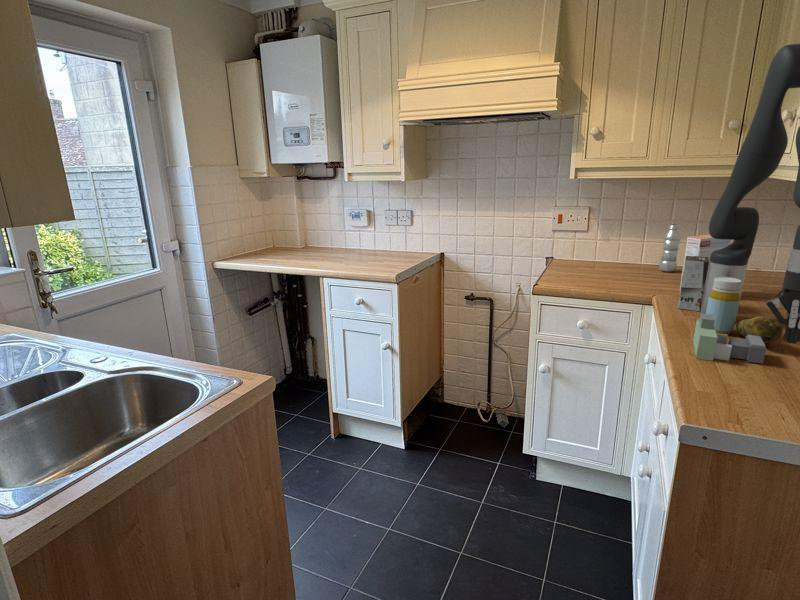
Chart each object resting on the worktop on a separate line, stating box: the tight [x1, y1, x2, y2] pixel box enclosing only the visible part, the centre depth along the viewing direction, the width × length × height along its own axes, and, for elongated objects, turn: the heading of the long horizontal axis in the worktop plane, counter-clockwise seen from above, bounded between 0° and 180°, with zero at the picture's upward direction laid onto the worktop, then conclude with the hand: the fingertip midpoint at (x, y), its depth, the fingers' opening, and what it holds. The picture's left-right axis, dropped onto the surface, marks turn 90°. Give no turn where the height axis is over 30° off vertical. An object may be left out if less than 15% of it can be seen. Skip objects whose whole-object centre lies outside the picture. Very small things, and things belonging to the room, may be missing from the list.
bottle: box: [706, 277, 741, 336], centre depth 131 cm, size 7×7×15 cm
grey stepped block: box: [727, 335, 767, 364], centre depth 115 cm, size 8×6×4 cm
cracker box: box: [679, 234, 731, 295], centre depth 166 cm, size 14×6×21 cm, turn 108°
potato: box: [735, 316, 784, 345], centre depth 123 cm, size 8×13×8 cm, turn 154°
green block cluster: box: [692, 313, 732, 362], centre depth 118 cm, size 13×7×8 cm, turn 152°
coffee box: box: [677, 256, 709, 312], centre depth 153 cm, size 9×6×16 cm
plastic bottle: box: [658, 223, 682, 273], centre depth 199 cm, size 6×7×20 cm
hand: (791, 342), depth 110 cm, fingers closed
